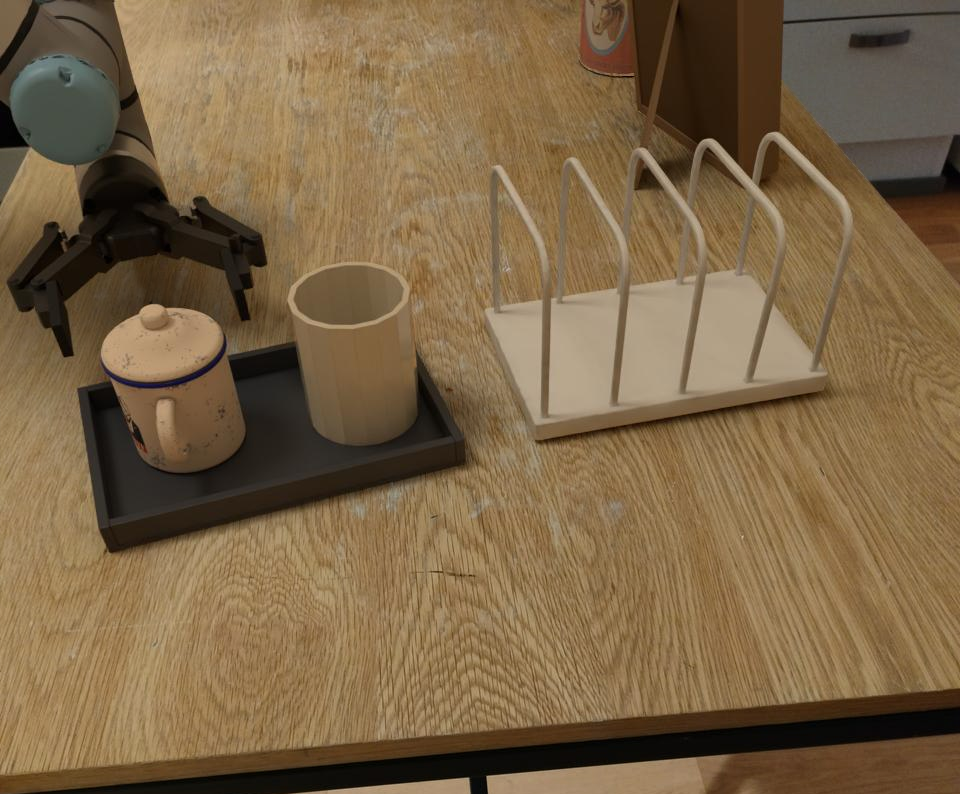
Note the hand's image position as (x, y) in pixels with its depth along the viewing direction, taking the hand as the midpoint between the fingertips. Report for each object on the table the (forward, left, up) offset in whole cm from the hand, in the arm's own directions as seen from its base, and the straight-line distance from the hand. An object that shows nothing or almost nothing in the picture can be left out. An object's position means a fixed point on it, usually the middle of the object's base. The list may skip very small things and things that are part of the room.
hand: (154, 323), depth 73 cm
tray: (+6, -5, -9) cm, 12 cm away
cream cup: (+14, -5, -9) cm, 18 cm away
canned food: (+65, +54, -9) cm, 85 cm away
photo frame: (+58, +28, -9) cm, 65 cm away
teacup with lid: (0, -6, -8) cm, 10 cm away
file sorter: (+39, -7, -9) cm, 41 cm away
